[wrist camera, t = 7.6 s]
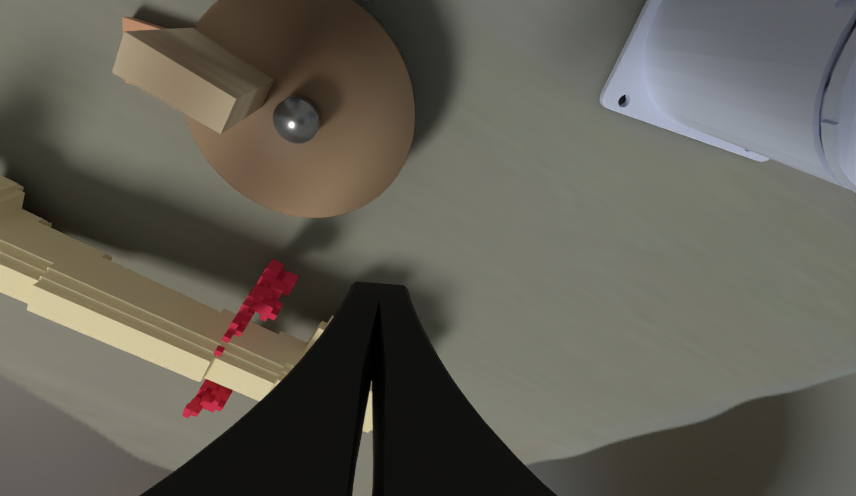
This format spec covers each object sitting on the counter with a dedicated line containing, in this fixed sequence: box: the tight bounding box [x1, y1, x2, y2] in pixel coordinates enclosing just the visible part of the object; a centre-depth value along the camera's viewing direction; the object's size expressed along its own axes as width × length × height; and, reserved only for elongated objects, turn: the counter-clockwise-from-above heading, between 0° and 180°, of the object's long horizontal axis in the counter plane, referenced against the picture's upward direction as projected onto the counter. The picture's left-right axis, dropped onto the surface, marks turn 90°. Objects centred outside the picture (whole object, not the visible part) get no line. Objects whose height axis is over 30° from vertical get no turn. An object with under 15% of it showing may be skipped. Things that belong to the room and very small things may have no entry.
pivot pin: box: [273, 95, 322, 144], centre depth 15 cm, size 2×2×1 cm
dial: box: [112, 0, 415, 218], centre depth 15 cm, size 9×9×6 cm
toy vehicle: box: [0, 175, 373, 433], centre depth 19 cm, size 10×9×25 cm
